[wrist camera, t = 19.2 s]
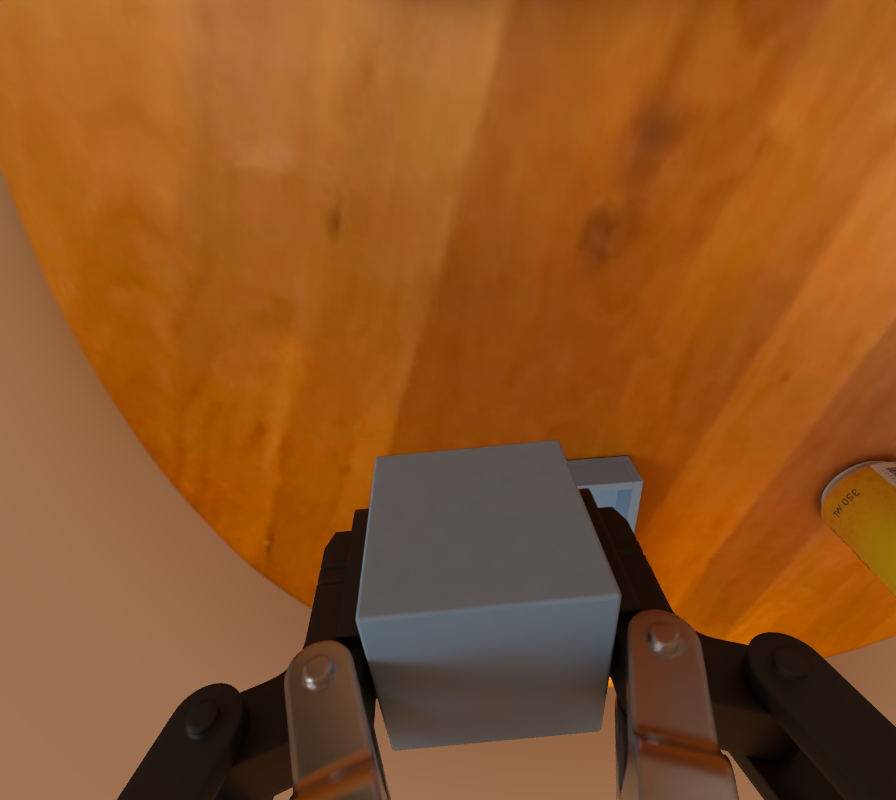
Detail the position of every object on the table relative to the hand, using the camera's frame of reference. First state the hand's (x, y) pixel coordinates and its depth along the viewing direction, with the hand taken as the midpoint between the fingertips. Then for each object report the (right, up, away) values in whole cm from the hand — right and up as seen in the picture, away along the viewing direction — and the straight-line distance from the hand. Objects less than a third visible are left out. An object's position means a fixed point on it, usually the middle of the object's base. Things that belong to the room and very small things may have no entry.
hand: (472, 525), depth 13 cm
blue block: (0, 0, 0) cm, 0 cm away
